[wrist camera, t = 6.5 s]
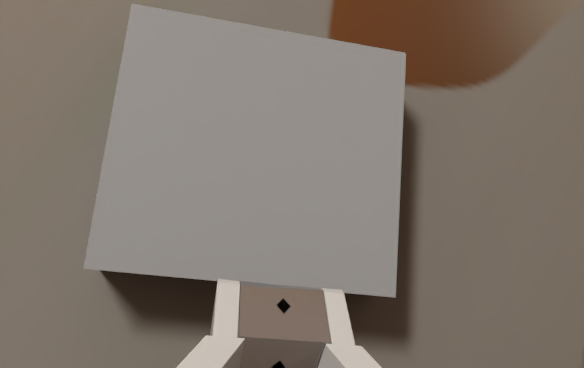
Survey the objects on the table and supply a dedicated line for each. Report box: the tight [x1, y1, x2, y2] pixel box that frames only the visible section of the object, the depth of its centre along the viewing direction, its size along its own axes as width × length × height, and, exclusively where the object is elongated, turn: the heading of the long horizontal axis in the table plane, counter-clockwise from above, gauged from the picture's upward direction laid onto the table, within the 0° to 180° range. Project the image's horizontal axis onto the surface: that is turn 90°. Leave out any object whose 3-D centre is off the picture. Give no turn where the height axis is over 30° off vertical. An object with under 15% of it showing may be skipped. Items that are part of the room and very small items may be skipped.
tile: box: [83, 4, 406, 298], centre depth 17 cm, size 10×3×9 cm
